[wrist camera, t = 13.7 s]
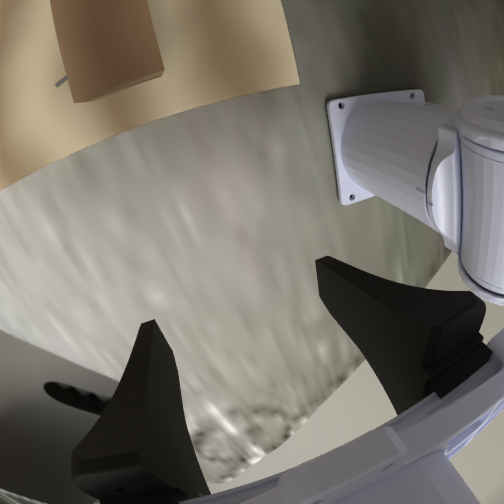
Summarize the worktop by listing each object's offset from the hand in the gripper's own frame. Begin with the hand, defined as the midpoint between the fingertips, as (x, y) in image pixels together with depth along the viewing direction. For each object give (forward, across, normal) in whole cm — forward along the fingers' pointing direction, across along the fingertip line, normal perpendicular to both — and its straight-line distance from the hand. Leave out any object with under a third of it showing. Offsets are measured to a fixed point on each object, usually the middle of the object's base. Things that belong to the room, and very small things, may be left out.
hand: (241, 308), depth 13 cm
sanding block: (+8, +2, -14) cm, 16 cm away
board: (+9, +2, -14) cm, 17 cm away
